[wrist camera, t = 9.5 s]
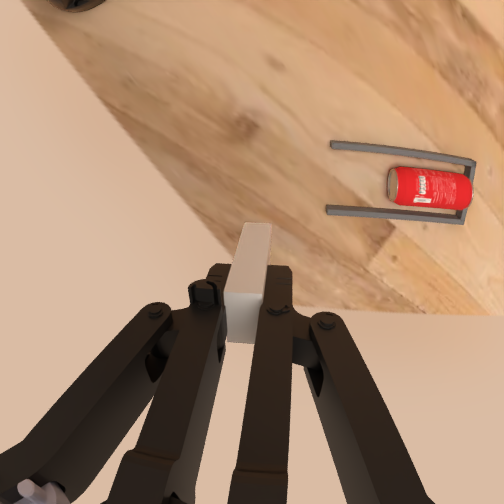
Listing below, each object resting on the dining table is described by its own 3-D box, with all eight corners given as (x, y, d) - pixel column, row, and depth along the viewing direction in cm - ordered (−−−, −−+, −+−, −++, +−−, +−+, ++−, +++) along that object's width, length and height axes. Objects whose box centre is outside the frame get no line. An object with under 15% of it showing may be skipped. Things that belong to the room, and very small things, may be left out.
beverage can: (395, 158, 37) (470, 168, 36) (385, 176, 42) (454, 183, 41) (400, 195, 36) (477, 202, 35) (388, 210, 41) (460, 215, 40)
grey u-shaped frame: (325, 210, 45) (327, 214, 43) (330, 140, 40) (332, 142, 38) (458, 220, 42) (463, 224, 41) (470, 158, 38) (476, 162, 36)
